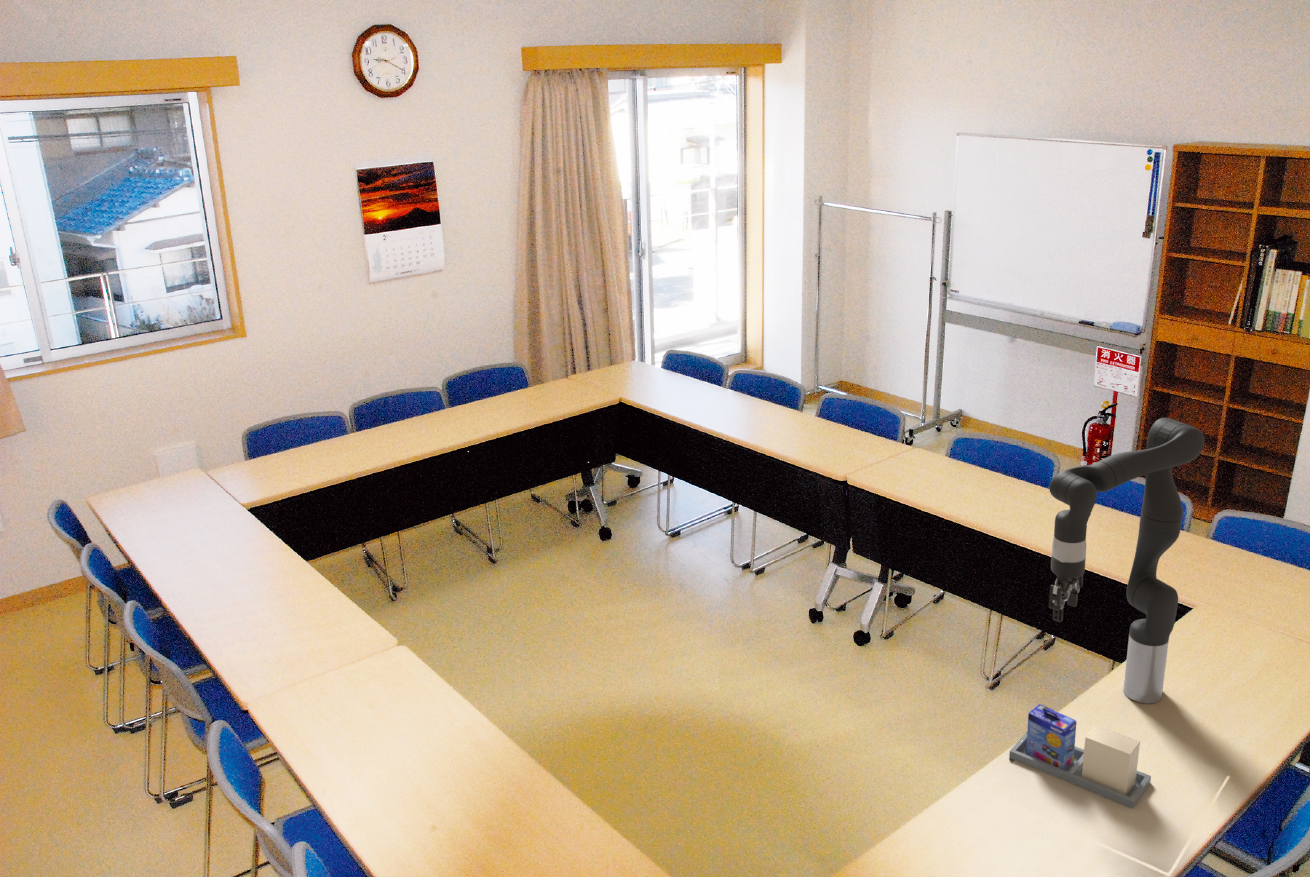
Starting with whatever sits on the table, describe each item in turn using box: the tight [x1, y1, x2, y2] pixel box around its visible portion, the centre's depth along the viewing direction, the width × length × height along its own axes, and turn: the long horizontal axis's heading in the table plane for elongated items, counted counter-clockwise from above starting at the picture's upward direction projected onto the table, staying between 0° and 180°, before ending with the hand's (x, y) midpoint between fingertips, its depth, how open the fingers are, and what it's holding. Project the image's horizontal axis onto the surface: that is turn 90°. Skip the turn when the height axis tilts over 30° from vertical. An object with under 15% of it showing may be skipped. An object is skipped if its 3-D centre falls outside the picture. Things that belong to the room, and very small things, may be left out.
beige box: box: [1082, 724, 1141, 796], centre depth 240 cm, size 6×10×12 cm, turn 47°
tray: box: [1008, 731, 1152, 810], centre depth 247 cm, size 11×29×2 cm, turn 47°
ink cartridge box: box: [1026, 703, 1077, 770], centre depth 249 cm, size 10×6×14 cm, turn 40°
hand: (1064, 613), depth 252 cm, fingers open, 8 cm apart
